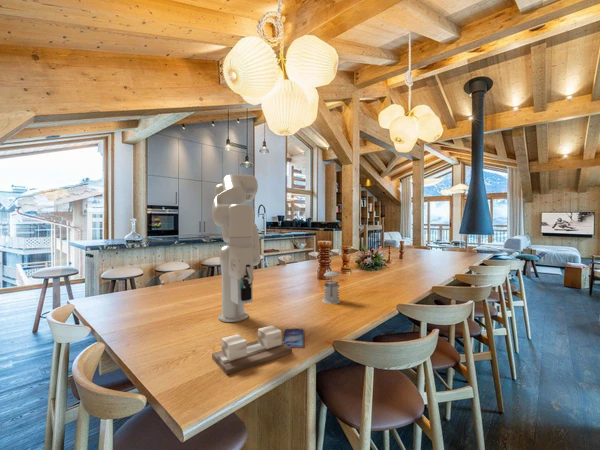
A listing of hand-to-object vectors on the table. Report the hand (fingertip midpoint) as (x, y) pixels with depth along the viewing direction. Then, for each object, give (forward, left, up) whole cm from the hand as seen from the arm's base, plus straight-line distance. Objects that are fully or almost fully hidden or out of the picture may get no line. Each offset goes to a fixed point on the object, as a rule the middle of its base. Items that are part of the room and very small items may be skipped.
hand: (241, 297), depth 95 cm
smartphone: (+1, +20, -19) cm, 27 cm away
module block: (0, 0, -1) cm, 1 cm away
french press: (-24, +61, -18) cm, 68 cm away
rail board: (+4, +2, -18) cm, 19 cm away
